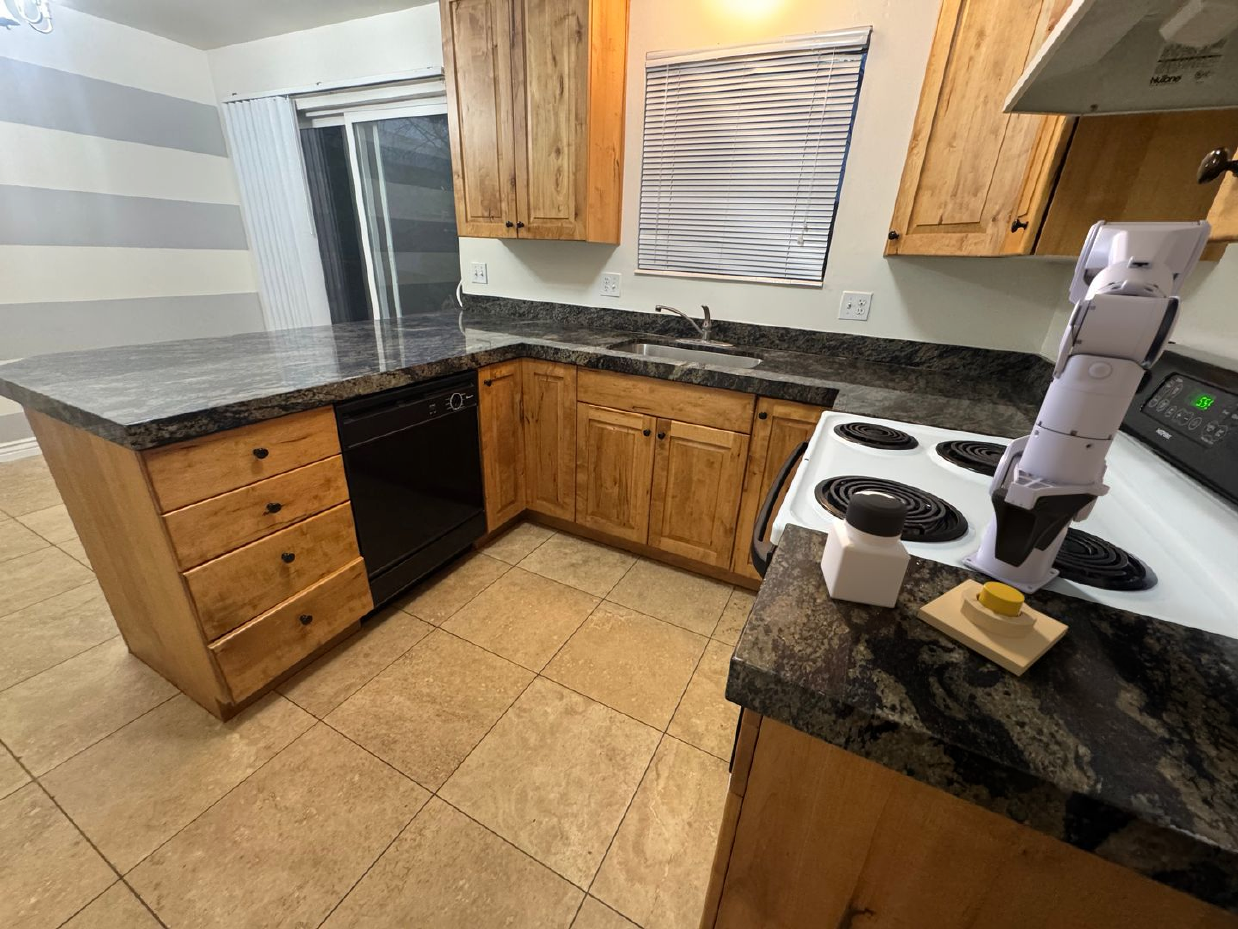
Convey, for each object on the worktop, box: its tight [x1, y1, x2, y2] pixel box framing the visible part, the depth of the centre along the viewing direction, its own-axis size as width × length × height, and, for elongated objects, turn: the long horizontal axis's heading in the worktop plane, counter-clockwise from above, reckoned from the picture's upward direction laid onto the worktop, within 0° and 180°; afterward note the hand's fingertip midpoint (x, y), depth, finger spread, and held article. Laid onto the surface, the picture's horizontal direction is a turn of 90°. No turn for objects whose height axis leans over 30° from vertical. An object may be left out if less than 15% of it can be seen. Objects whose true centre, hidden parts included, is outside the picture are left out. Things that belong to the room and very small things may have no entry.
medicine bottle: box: [820, 490, 912, 609], centre depth 58 cm, size 7×7×12 cm
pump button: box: [978, 581, 1026, 617], centre depth 54 cm, size 4×4×2 cm
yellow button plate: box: [916, 578, 1069, 677], centre depth 55 cm, size 12×10×3 cm
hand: (1020, 553), depth 52 cm, fingers open, 6 cm apart
